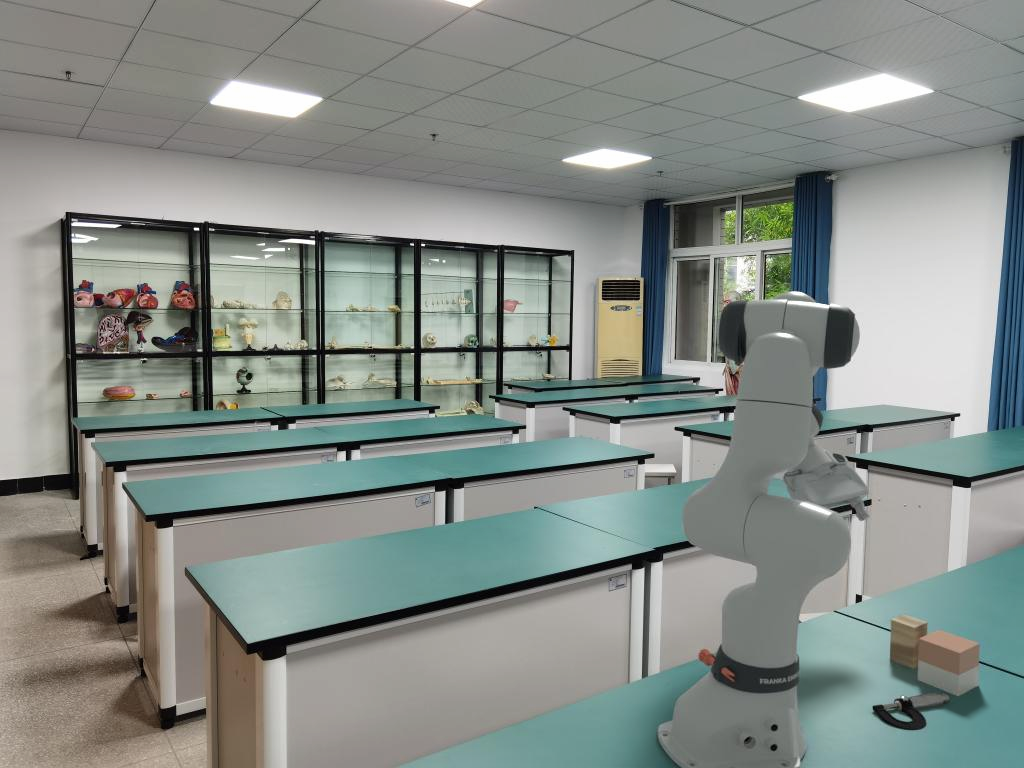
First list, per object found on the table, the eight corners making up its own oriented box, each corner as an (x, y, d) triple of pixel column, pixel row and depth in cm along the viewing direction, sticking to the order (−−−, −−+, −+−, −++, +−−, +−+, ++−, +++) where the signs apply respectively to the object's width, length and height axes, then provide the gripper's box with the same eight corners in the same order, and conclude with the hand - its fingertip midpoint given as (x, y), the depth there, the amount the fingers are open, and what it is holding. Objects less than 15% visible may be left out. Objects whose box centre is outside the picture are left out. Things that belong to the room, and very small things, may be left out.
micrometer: (899, 735, 114) (899, 720, 114) (867, 712, 121) (867, 697, 120) (976, 722, 117) (977, 707, 117) (941, 700, 124) (941, 686, 124)
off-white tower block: (958, 697, 125) (959, 675, 124) (917, 681, 131) (918, 659, 130) (978, 686, 128) (979, 665, 128) (937, 671, 134) (938, 650, 134)
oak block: (912, 668, 135) (914, 627, 134) (889, 659, 139) (891, 619, 138) (926, 662, 137) (927, 622, 137) (902, 653, 141) (904, 614, 140)
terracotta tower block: (958, 675, 124) (959, 653, 124) (918, 659, 130) (918, 638, 130) (978, 665, 128) (979, 643, 128) (938, 650, 134) (938, 629, 134)
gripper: (788, 464, 147) (830, 522, 139) (849, 454, 157) (891, 507, 150) (770, 482, 151) (810, 539, 143) (830, 470, 161) (870, 523, 154)
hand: (851, 522), depth 147 cm, fingers open, 8 cm apart
